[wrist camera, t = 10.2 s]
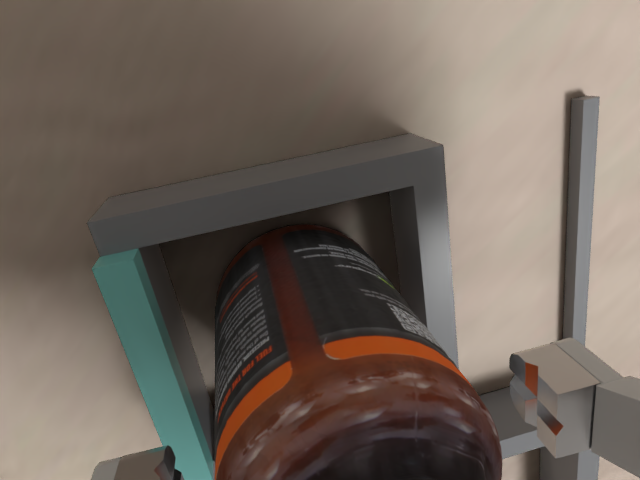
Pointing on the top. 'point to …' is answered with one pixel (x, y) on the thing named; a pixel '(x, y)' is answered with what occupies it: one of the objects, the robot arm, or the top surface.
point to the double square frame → (298, 195)
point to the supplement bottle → (336, 373)
